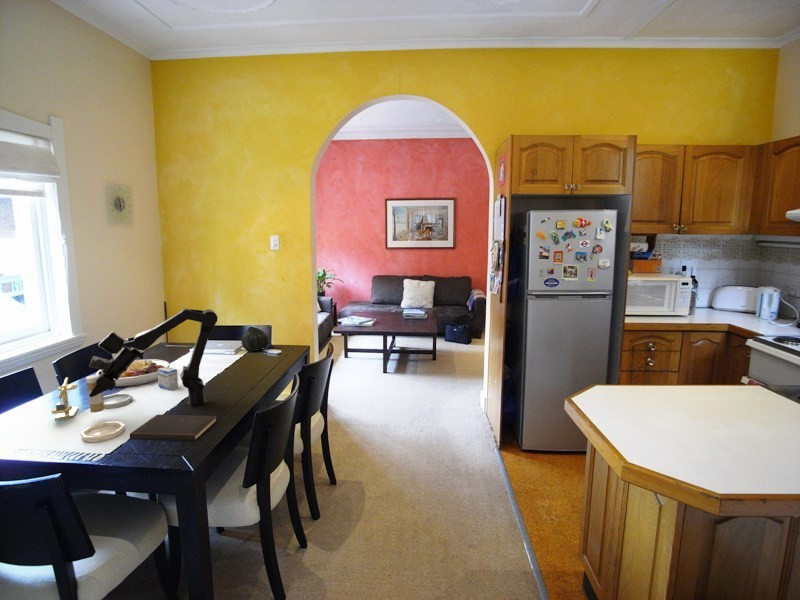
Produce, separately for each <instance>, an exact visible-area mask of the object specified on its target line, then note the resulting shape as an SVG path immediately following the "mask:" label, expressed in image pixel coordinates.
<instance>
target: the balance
mask: <svg viewBox="0 0 800 600" xmlns="http://www.w3.org/2000/svg"><path fill="white" fill-rule="evenodd" d="M68 380H69V377H65V379H64V381H63V383H62V385H60V386H59V387H58V388H57V389H58V391H59V395H58V399H59V401H58V402H57V403H56V404H55V408H53V409H51V414H52V415H53V414H54V415H55V417H54V421H55V422H56V421H62V420H63V419H64V420H69V418H70V419H74V418H75V416H76V414H77V413H78V411H79V406H71V405H69V397H68V391H71V390H75V389H77V388H78V384H76V383H70V384H69V381H68ZM76 412H77V413H76Z"/></svg>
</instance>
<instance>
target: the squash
mask: <svg viewBox="0 0 800 600" xmlns="http://www.w3.org/2000/svg"><path fill="white" fill-rule="evenodd" d="M241 346H242V347H243V348H244V350H245V351H247V350H250V351H249V352H251V351H254V350H255V351H259V349H262V348H265V349H267V348H268V346H269V338H268V336H267V334H266V332H264V331H263V330H261V329H259V328H257V327H255V326H249V327H247V329H246V331H245V332H244V334H243V335H242V337H241ZM255 351H254V352H255Z"/></svg>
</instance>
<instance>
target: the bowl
mask: <svg viewBox="0 0 800 600" xmlns="http://www.w3.org/2000/svg"><path fill="white" fill-rule="evenodd" d="M164 367H168V368H170V363H169V361H166V360H163V359H154V358H153V359H151V358H150V359H147V358H146V359H145V358H144V359H143V360H142V359H136V360H135V361H134V362H133V363H132V364H131V365H130V366H129V367H128V369H127V370H126V371H124V372H123V373H122V374H121V375H120V376H119V379H118V380H116V379H114V380H116V386H115V387H119V388H120V387H122V386H123V387H133V386H138V385H144V384H147V383H151V382H154V381H157V380H158V369H160V368H164ZM99 371H101V372H102V371H103V370H101V369H98V371H97V372H96V373H95V375H99ZM115 387H114V388H115Z"/></svg>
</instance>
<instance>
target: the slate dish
mask: <svg viewBox="0 0 800 600" xmlns="http://www.w3.org/2000/svg"><path fill="white" fill-rule="evenodd" d="M133 397H134V396H133V395H131V394H130V393H129V392H125V393H124V392H123V393H122V392H119V393H118V392H117V393H112V394H108V395H105V396H104V395H103V399H104V407H105V408H107V409H114V408H120V407H122V406H125V405H127V404H129V402H132V400H133ZM119 406H120V407H119Z"/></svg>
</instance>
